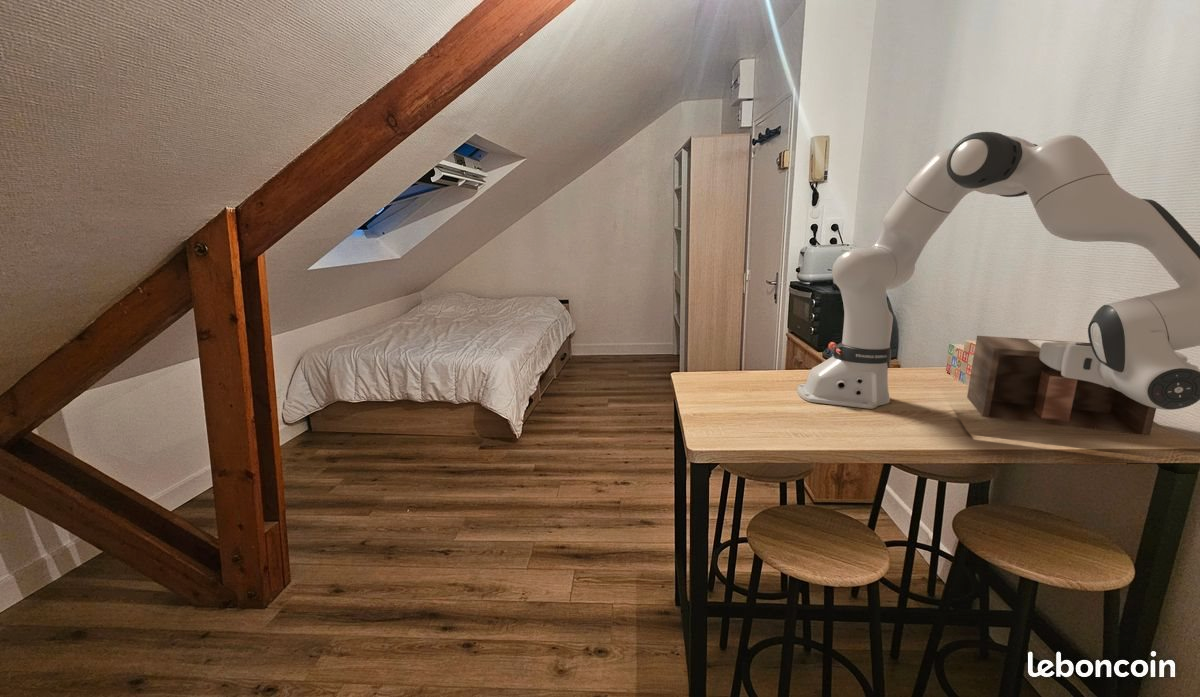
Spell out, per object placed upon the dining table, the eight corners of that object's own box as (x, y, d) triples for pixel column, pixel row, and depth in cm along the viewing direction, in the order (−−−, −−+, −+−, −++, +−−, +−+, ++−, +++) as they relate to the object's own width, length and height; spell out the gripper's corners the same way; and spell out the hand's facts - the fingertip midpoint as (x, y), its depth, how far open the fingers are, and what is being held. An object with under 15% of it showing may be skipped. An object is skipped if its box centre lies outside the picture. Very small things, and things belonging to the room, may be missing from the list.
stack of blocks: (944, 372, 162) (950, 333, 159) (967, 373, 161) (973, 334, 158) (979, 393, 142) (986, 349, 139) (1005, 395, 141) (1013, 350, 138)
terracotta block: (1041, 417, 121) (1049, 376, 118) (1033, 410, 125) (1041, 370, 123) (1068, 420, 119) (1077, 378, 117) (1060, 413, 123) (1068, 372, 121)
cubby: (981, 420, 122) (994, 347, 118) (966, 400, 136) (977, 334, 132) (1148, 439, 111) (1168, 359, 107) (1113, 416, 124) (1130, 344, 120)
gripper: (1209, 353, 90) (1162, 337, 102) (1059, 343, 98) (1033, 330, 110) (1199, 388, 91) (1155, 369, 104) (1053, 376, 99) (1027, 359, 111)
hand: (1091, 349), depth 107 cm, fingers open, 8 cm apart
